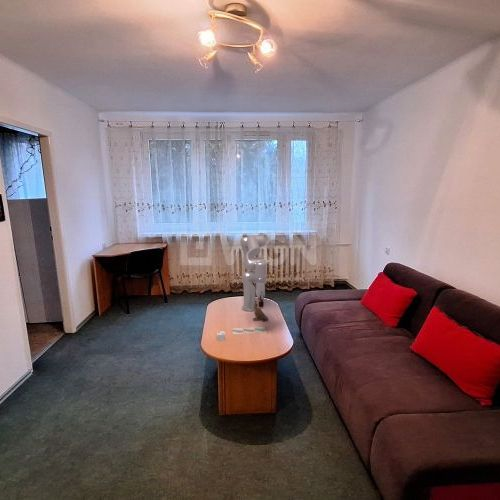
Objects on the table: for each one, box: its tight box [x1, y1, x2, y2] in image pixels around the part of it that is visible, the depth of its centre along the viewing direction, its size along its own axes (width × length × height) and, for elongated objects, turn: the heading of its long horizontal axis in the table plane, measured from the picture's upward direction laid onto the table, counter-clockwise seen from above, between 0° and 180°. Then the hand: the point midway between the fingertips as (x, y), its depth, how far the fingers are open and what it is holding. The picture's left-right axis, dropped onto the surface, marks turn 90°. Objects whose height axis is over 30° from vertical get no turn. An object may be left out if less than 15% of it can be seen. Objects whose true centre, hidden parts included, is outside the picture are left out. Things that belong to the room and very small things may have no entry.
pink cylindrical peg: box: [256, 296, 265, 310], centre depth 220 cm, size 4×4×12 cm
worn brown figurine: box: [252, 299, 269, 323], centre depth 240 cm, size 12×6×18 cm, turn 94°
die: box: [216, 330, 226, 342], centre depth 211 cm, size 5×5×5 cm
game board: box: [231, 326, 269, 335], centre depth 224 cm, size 11×25×1 cm, turn 98°
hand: (260, 305), depth 221 cm, fingers closed on pink cylindrical peg, 4 cm apart
